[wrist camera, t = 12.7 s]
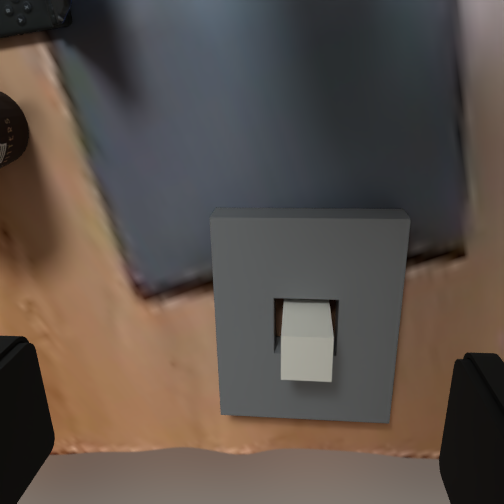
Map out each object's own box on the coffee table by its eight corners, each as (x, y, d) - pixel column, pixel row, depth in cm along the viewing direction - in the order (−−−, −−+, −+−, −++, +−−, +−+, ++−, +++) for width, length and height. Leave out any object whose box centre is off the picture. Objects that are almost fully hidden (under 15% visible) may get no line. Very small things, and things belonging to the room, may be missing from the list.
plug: (284, 290, 43) (281, 336, 35) (328, 291, 42) (333, 338, 35) (284, 328, 44) (280, 379, 37) (326, 329, 44) (331, 382, 36)
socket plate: (215, 207, 40) (209, 217, 38) (402, 208, 39) (410, 219, 36) (225, 394, 48) (220, 414, 45) (383, 402, 46) (389, 423, 43)
